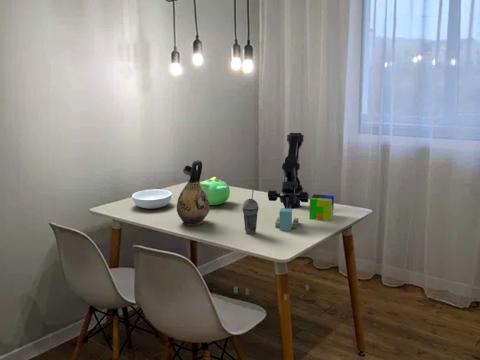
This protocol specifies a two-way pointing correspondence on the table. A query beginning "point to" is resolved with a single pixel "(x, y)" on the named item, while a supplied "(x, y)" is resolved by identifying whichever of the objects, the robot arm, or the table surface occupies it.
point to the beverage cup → (250, 215)
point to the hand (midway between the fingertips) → (286, 212)
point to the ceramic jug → (193, 198)
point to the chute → (294, 224)
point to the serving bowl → (152, 198)
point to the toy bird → (216, 191)
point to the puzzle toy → (321, 207)
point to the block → (285, 219)
